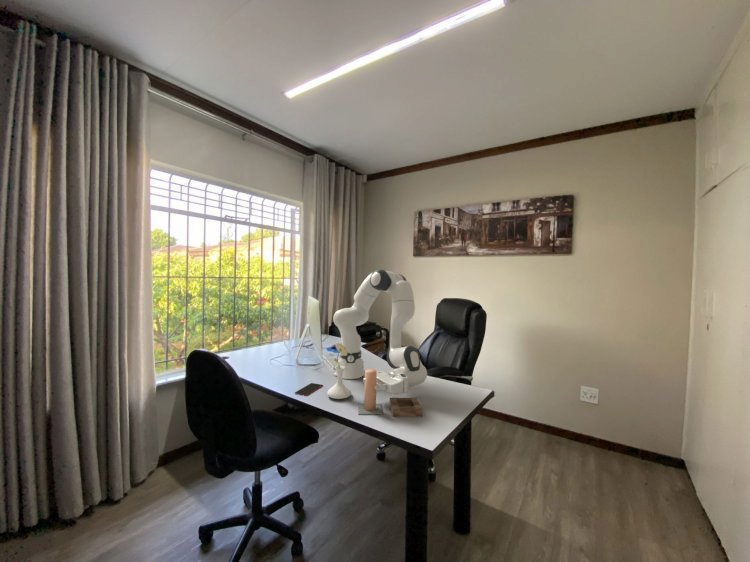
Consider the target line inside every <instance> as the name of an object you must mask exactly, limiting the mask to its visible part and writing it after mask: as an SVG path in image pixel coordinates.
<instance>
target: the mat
mask: <svg viewBox="0 0 750 562" xmlns="http://www.w3.org/2000/svg"><path fill="white" fill-rule="evenodd" d="M357 404H358V407H357V409H358V410H357V411H358V413H357V414H358V416H361V415H362V416H368V415H369V416H373V415H374V414H381V416H382V415H383V414H384V412H383V408H382V403H376V409H375V410H374V411H367V410H365V409H364V403H357ZM370 414H371V415H370Z"/></svg>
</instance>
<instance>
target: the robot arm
mask: <svg viewBox="0 0 750 562" xmlns="http://www.w3.org/2000/svg"><path fill="white" fill-rule="evenodd" d="M412 287H413V286H412V285H411V283H410V282H409V281H407V279H406V277H405V276H404V275H402V274H400V273H397V272H394V271H391V270H390V271H389V270H385V269H376V270H374V271H372V272H370V273H369V274H368V275H367V277H365V278H364V280H363V281H362V283H361V284H360V286H359V287H358V289H357V291H356V292H355V293H354V295H353V301H354V302H353V305H352V306H351V307H345V308H340V309H338V310H337V311H335V312H334V314H333V318H332V320H333V324H334V325H335V326H336V327H337V328H338V330H339V333H340V338H341V339H340V340H341V343H342V345H343V346H344V347H346V350H347V352H348V353H347V355H346V356H344V355H342V354H340V353H339V355H340V358H339V359H338V363H341V362H342V363H341V364H339V365H338V363H337V362H336V364H337V366H344V367H345V369H344V371H343V374H342V379H344V380H357V379H360V377H361V378H363V379H362V382H363V383H364V384H365V368H364V367H365V366H364V365H365V364H364V363H365V361H364V360H363V359H362V346H361V345H362V339H361V336H360V334H359V333H358V331H357V327H358V326H361V325H364V324H366V323H367V322H368V320H369V319H370V313H369V312H370V309H371V306H372V305H373V304H374V302H375V300H376V299H377V297H378V296H379V294H380V293H381V292H385V293H390V296H391V315H390V320H389V329H388V331H389V332H388V333H389V335H388V349H387V352H386V362H387V364H388V365H389V367H390V368H391V369H390V370H388V372H385V371H383V370H376V371H377V382H376V385H374V389H376V391H379V390H380V391H381V390H382V391H386V392H387V393H390V394H400V393H407V392H408V389H409V388H408V387H414V386H419V385H421V384H422V383H424V382H425V381H426V379H427V378H428V371H427V368H426V367H425V366H424V365H423V363H422V361H421V358H420V352H419V351H418V349H417V348H416V347H414V346H413V345H408V346H402V330H403V328H404V326H405V325H406V324H407V323H408V322H409V321H410V320H411V319H412V318H413V317H414V314H415V309H416V305H415V297H414V292H413V288H412ZM341 343H340V344H341ZM343 361H344V362H343ZM333 376H335V377H337V371H335V372H334V374H333ZM362 376H363V377H362Z"/></svg>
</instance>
